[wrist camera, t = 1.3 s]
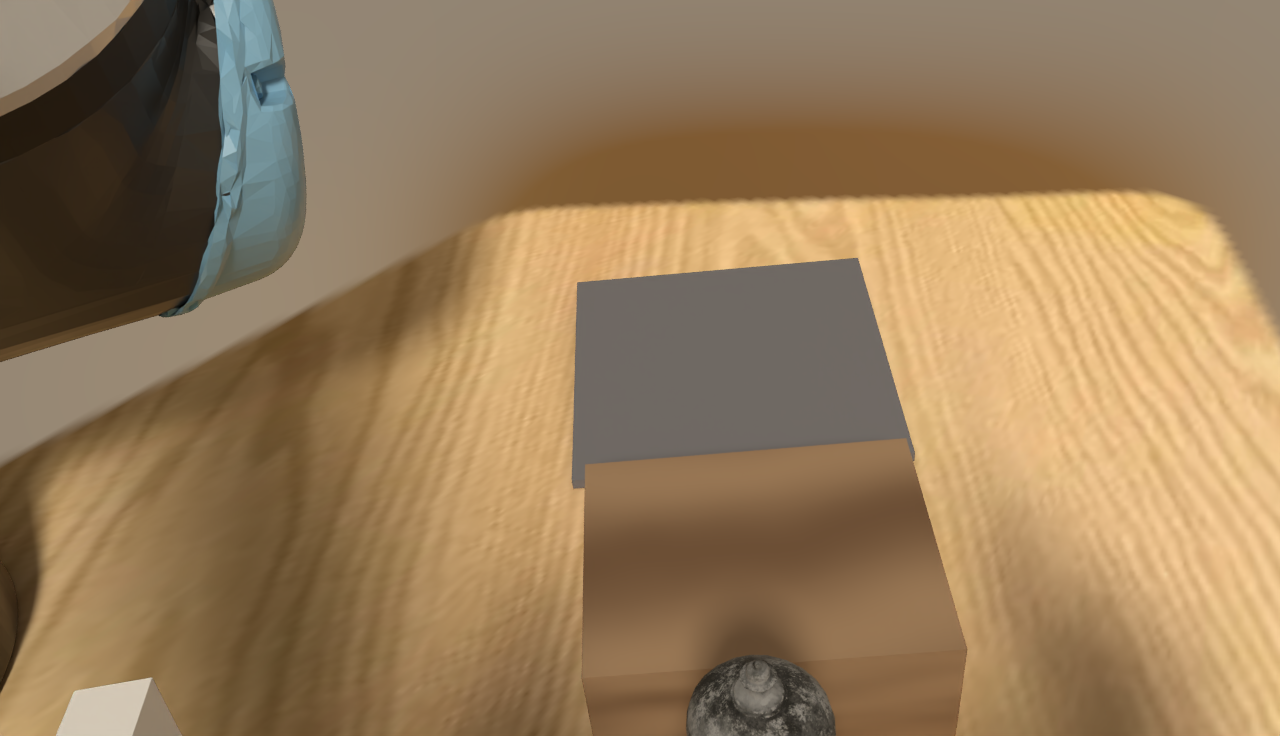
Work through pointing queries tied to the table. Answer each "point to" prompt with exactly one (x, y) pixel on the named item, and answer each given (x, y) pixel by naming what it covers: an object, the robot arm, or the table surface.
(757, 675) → the salt shaker
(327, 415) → the table surface
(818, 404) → the mat
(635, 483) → the ledge block
